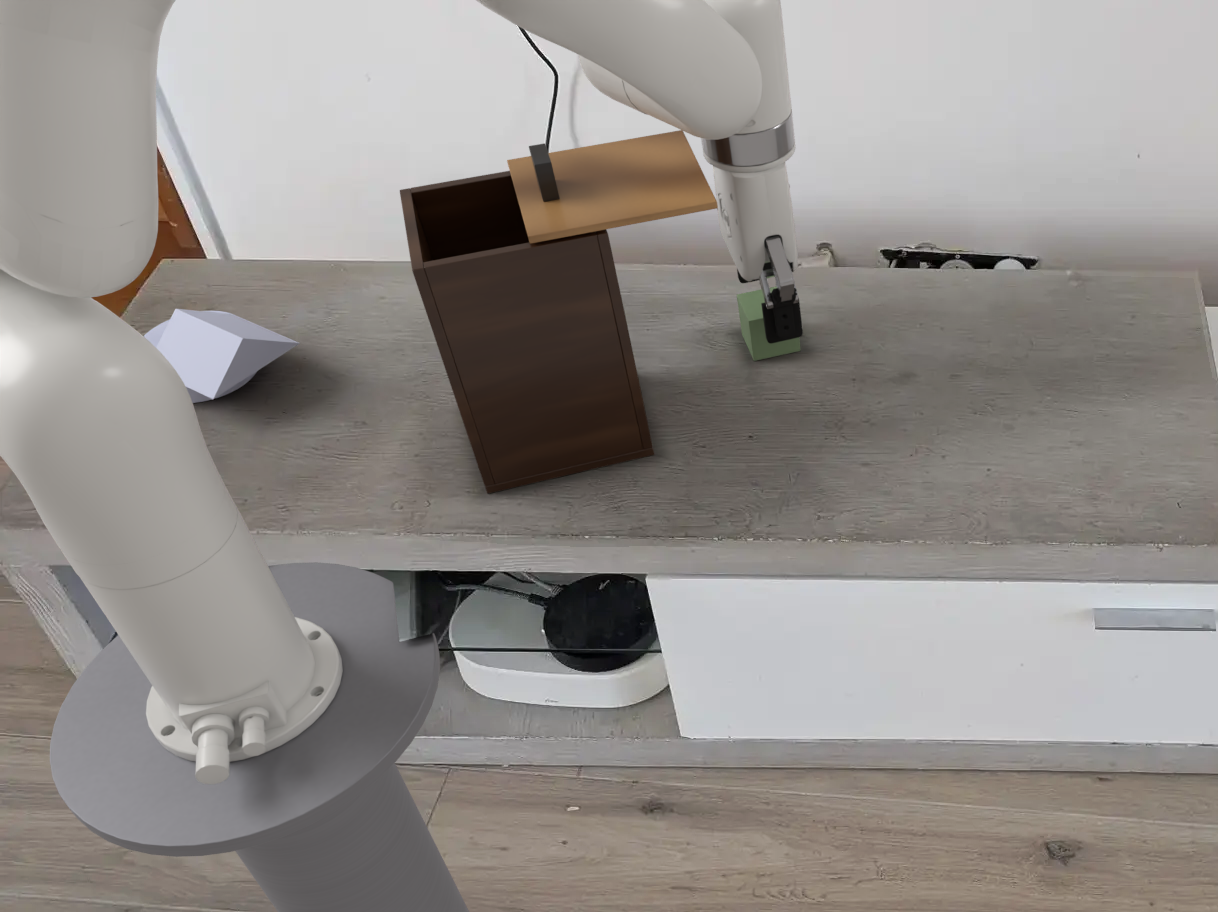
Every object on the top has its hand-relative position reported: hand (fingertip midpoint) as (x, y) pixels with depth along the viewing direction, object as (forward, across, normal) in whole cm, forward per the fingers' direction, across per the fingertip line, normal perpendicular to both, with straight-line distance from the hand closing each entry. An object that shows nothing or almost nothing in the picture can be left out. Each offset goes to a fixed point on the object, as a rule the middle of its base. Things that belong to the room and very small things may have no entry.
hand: (770, 308), depth 119 cm
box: (+3, +6, -20) cm, 22 cm away
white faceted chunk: (+3, -12, -47) cm, 49 cm away
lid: (-18, +6, -12) cm, 23 cm away
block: (+4, 0, 0) cm, 4 cm away
